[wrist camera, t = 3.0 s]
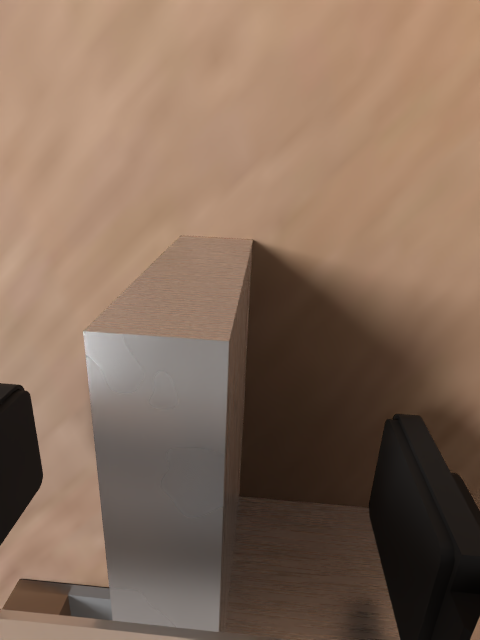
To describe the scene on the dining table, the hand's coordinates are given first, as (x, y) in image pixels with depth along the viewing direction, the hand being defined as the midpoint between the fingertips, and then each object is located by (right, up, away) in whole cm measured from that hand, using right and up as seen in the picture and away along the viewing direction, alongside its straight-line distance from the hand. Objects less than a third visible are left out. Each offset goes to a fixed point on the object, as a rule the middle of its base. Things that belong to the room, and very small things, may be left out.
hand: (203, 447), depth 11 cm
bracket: (+3, 0, +1) cm, 4 cm away
